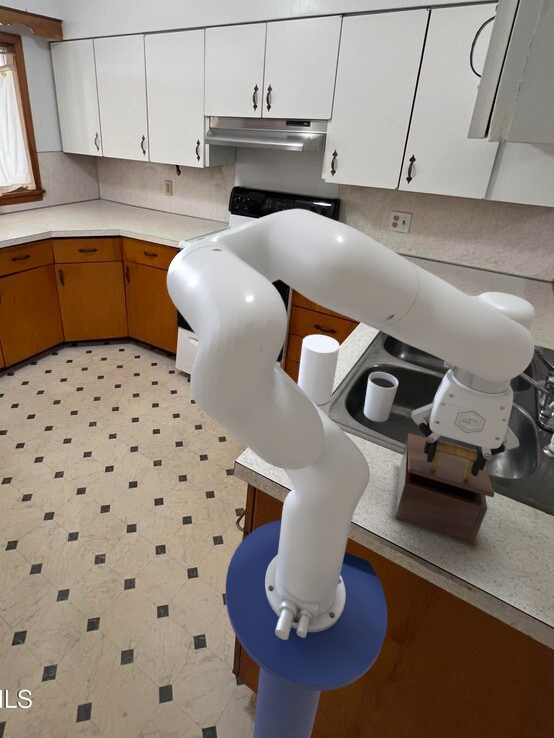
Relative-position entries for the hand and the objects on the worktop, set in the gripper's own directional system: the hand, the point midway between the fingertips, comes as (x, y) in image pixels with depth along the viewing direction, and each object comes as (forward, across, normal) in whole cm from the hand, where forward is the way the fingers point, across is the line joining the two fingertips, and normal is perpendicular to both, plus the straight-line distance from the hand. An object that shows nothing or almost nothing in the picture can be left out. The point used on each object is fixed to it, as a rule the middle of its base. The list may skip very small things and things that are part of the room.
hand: (451, 462), depth 71 cm
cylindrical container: (+14, -26, +10) cm, 31 cm away
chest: (+14, 0, +4) cm, 14 cm away
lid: (+3, 0, +3) cm, 5 cm away
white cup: (+14, -13, +26) cm, 32 cm away
